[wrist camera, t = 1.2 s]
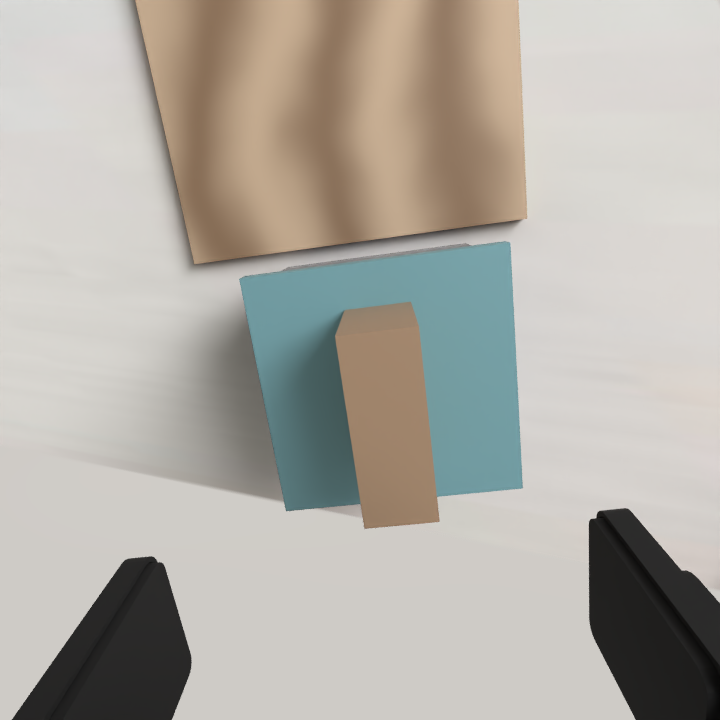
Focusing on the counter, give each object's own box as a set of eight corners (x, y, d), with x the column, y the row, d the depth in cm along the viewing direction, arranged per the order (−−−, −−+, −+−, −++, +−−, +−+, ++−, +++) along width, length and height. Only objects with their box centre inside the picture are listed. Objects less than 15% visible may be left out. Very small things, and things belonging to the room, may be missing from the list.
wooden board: (509, -107, 25) (513, -117, 25) (523, 218, 30) (527, 218, 29) (132, -37, 27) (125, -44, 26) (199, 262, 31) (194, 264, 31)
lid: (497, 239, 24) (547, 251, 17) (510, 463, 27) (556, 554, 20) (252, 272, 25) (200, 297, 18) (294, 485, 28) (264, 579, 21)
